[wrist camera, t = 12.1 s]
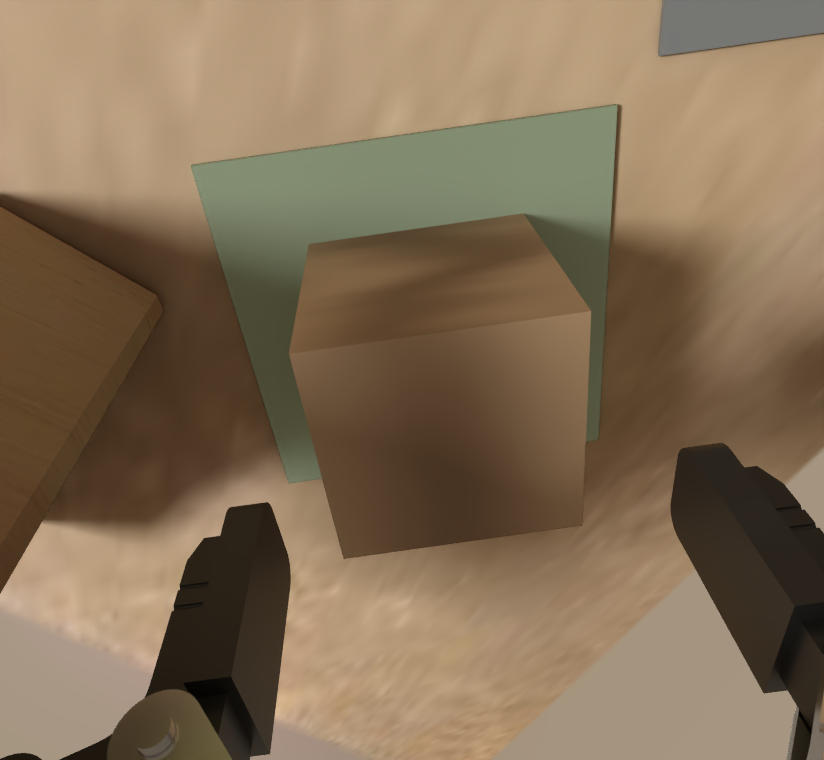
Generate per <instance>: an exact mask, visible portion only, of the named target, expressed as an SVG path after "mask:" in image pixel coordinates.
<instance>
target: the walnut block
mask: <svg viewBox="0 0 824 760" xmlns="http://www.w3.org/2000/svg"><path fill="white" fill-rule="evenodd" d="M590 330H591V310H590V309H589V307H588V306H587V304H586V303H585V301H584V300H583V298H582V297H581V296H580V294H579V293H578V291H577V290H576V288H575V287H574V285H573V284H572V283H571V281H570V280H569V278H568V277H567V275H566V274H565V273H564V271H563V270H562V268H561V267H560V265H559V264H558V262H557V261H556V260H555V258H554V257H553V255H552V254H551V252H550V251H549V250H548V248H547V247H546V245H545V244H544V242H543V241H542V239H541V238H540V237H539V235H538V234H537V232H536V231H535V229H534V228H533V227H532V225H531V224H530V222H529V221H528V219H527V218H526V216H525V215H524V214H516V215H509V216H502V217H495V218H488V219H481V220H474V221H467V222H460V223H453V224H446V225H439V226H432V227H425V228H418V229H411V230H404V231H397V232H390V233H383V234H376V235H369V236H362V237H355V238H348V239H341V240H334V241H327V242H320V243H313V244H309V246H308V251H307V257H306V262H305V268H304V273H303V279H302V284H301V290H300V295H299V301H298V306H297V312H296V317H295V323H294V328H293V334H292V339H291V345H290V350H289V357H290V361H291V364H292V368H293V372H294V375H295V379H296V383H297V387H298V390H299V394H300V398H301V402H302V405H303V409H304V413H305V416H306V420H307V424H308V428H309V431H310V435H311V439H312V442H313V446H314V450H315V454H316V457H317V461H318V465H319V469H320V472H321V476H322V480H323V483H324V487H325V491H326V495H327V498H328V502H329V506H330V510H331V513H332V517H333V521H334V524H335V528H336V532H337V536H338V539H339V543H340V547H341V550H342V554H343V558H344V559H346V558H353V557H360V556H367V555H374V554H381V553H389V552H396V551H403V550H410V549H417V548H424V547H431V546H438V545H446V544H453V543H460V542H467V541H474V540H481V539H488V538H495V537H503V536H510V535H517V534H524V533H531V532H538V531H545V530H552V529H560V528H567V527H574V526H581V525H582V521H583V497H584V473H585V449H586V426H587V402H588V378H589V354H590Z"/></svg>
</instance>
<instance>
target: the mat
mask: <svg viewBox="0 0 824 760" xmlns="http://www.w3.org/2000/svg"><path fill="white" fill-rule="evenodd" d="M617 106H618V105H616V104H614V105H607V106H600V107H593V108H586V109H579V110H572V111H565V112H558V113H551V114H544V115H537V116H530V117H523V118H516V119H509V120H502V121H495V122H488V123H481V124H474V125H467V126H460V127H453V128H446V129H439V130H432V131H425V132H418V133H411V134H404V135H397V136H390V137H383V138H376V139H369V140H362V141H355V142H348V143H341V144H334V145H327V146H320V147H313V148H306V149H299V150H292V151H285V152H278V153H271V154H264V155H257V156H250V157H243V158H236V159H229V160H222V161H215V162H208V163H201V164H194V165H191V169H192V172H193V175H194V178H195V182H196V185H197V188H198V191H199V195H200V198H201V201H202V204H203V208H204V211H205V214H206V217H207V220H208V224H209V227H210V230H211V233H212V237H213V240H214V243H215V246H216V250H217V253H218V256H219V259H220V263H221V266H222V269H223V272H224V276H225V279H226V282H227V285H228V288H229V292H230V295H231V298H232V301H233V305H234V308H235V311H236V314H237V318H238V321H239V324H240V327H241V331H242V334H243V337H244V340H245V344H246V347H247V350H248V353H249V356H250V360H251V363H252V366H253V369H254V373H255V376H256V379H257V382H258V386H259V389H260V392H261V395H262V399H263V402H264V405H265V408H266V412H267V415H268V418H269V421H270V424H271V428H272V431H273V434H274V437H275V441H276V444H277V447H278V450H279V454H280V457H281V460H282V463H283V467H284V470H285V473H286V476H287V480H288V483H296V482H303V481H310V480H317V479H322V476H321V472H320V469H319V465H318V461H317V457H316V454H315V450H314V446H313V442H312V439H311V435H310V431H309V428H308V424H307V420H306V416H305V413H304V409H303V405H302V402H301V398H300V394H299V390H298V387H297V383H296V379H295V375H294V372H293V368H292V364H291V361H290V357H289V350H290V345H291V339H292V334H293V328H294V323H295V317H296V312H297V306H298V301H299V295H300V290H301V284H302V279H303V273H304V268H305V262H306V257H307V251H308V246H309V244H313V243H320V242H327V241H334V240H341V239H348V238H355V237H362V236H369V235H376V234H383V233H390V232H397V231H404V230H411V229H418V228H425V227H432V226H439V225H446V224H453V223H460V222H467V221H474V220H481V219H488V218H495V217H502V216H509V215H516V214H524V215H525V216H526V218H527V219H528V221H529V222H530V224H531V225H532V227H533V228H534V229H535V231H536V232H537V234H538V235H539V237H540V238H541V239H542V241H543V242H544V244H545V245H546V247H547V248H548V250H549V251H550V252H551V254H552V255H553V257H554V258H555V260H556V261H557V262H558V264H559V265H560V267H561V268H562V270H563V271H564V273H565V274H566V275H567V277H568V278H569V280H570V281H571V283H572V284H573V285H574V287H575V288H576V290H577V291H578V293H579V294H580V296H581V297H582V298H583V300H584V301H585V303H586V304H587V306H588V307H589V309H590V310H591V330H590V354H589V378H588V402H587V426H586V442H588V441H595V440H598V438H599V421H600V404H601V386H602V369H603V351H604V334H605V316H606V299H607V281H608V264H609V246H610V229H611V211H612V194H613V176H614V159H615V141H616V124H617Z"/></svg>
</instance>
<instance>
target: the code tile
mask: <svg viewBox="0 0 824 760" xmlns="http://www.w3.org/2000/svg"><path fill="white" fill-rule="evenodd" d="M818 33H824V0H663V3H662V14H661V26H660V37H659V49H658V56H664V55H671V54H678V53H685V52H692V51H699V50H706V49H713V48H720V47H727V46H734V45H741V44H748V43H755V42H762V41H769V40H776V39H783V38H790V37H797V36H804V35H811V34H818Z"/></svg>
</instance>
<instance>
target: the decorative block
mask: <svg viewBox="0 0 824 760" xmlns="http://www.w3.org/2000/svg"><path fill="white" fill-rule="evenodd" d="M163 312H164V311H163V309H162V306H161V304H160V301H159V298H158V296H157V295H156V294H154V293H152V292H150V291H149V290H147V289H145V288H143V287H141V286H140V285H138V284H136V283H134V282H133V281H131V280H129V279H127V278H126V277H124V276H122V275H120V274H119V273H117V272H115V271H113V270H111V269H110V268H108V267H106V266H104V265H103V264H101V263H99V262H97V261H96V260H94V259H92V258H90V257H88V256H87V255H85V254H83V253H81V252H80V251H78V250H76V249H74V248H73V247H71V246H69V245H67V244H66V243H64V242H62V241H60V240H58V239H57V238H55V237H53V236H51V235H50V234H48V233H46V232H44V231H43V230H41V229H39V228H37V227H35V226H34V225H32V224H30V223H28V222H27V221H25V220H23V219H21V218H20V217H18V216H16V215H14V214H12V213H11V212H9V211H7V210H5V209H4V208H2V207H0V593H1V591H2V590H3V588H4V586H5V585H6V583H7V581H8V579H9V578H10V576H11V574H12V572H13V571H14V569H15V567H16V566H17V564H18V562H19V560H20V559H21V557H22V555H23V553H24V552H25V550H26V548H27V547H28V545H29V543H30V541H31V540H32V538H33V536H34V534H35V533H36V531H37V529H38V528H39V526H40V524H41V522H42V521H43V519H44V517H45V515H46V514H47V512H48V510H49V509H50V507H51V505H52V503H53V502H54V500H55V498H56V496H57V495H58V493H59V491H60V490H61V488H62V486H63V484H64V483H65V481H66V479H67V477H68V476H69V474H70V472H71V471H72V469H73V467H74V465H75V464H76V462H77V460H78V458H79V457H80V455H81V453H82V452H83V450H84V448H85V446H86V445H87V443H88V441H89V439H90V438H91V436H92V434H93V433H94V431H95V429H96V427H97V426H98V424H99V422H100V420H101V419H102V417H103V415H104V414H105V412H106V410H107V408H108V407H109V405H110V403H111V401H112V400H113V398H114V396H115V395H116V393H117V391H118V389H119V388H120V386H121V384H122V382H123V381H124V379H125V377H126V376H127V374H128V372H129V370H130V369H131V367H132V365H133V363H134V362H135V360H136V358H137V357H138V355H139V353H140V351H141V350H142V348H143V346H144V344H145V343H146V341H147V339H148V338H149V336H150V334H151V332H152V331H153V329H154V327H155V325H156V324H157V322H158V320H159V319H160V317H161V315H162V313H163Z"/></svg>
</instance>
